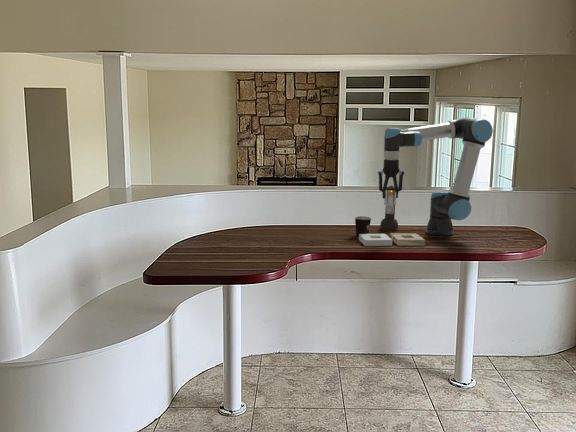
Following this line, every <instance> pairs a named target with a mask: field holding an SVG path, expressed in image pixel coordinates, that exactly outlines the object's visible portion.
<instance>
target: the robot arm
mask: <svg viewBox="0 0 576 432" xmlns="http://www.w3.org/2000/svg"><path fill="white" fill-rule="evenodd" d="M493 133H494V129H493V125H492V124H491V122H489V120H488V119H485V118H480V117H478V118H477V117H462V118H458V119H457V118H456V119H453V120H447V122H445V123H444V122H443V123H437V124H432V125H431V124H430V125H422V126H416V127H409V128H402V129H401V128H398V127H387V128H385V129H384V135H383V136H384V137H383V139H384V141H383V142H384V147H383V149H384V150H383V158H384V159H383V168H382V170H380V171H377V175H378V190H379V191H380V192H381V193H382V198H383V205H384V206H386V205H387V192H386V189H387V187H388V184H389V181H390V180H389V179H390V178H392V182H393V186H394V188H395V192H394V205H395V206H396V205H397V199H398V198H399V192H402V190H403V181H404V180H403V179H404V175H405V172H404V171H403V170H400V168H399V167H400V161H399V158H400V148H401V147H413V148H415V147H420V146H421V144H422V143H423V141H431V140H437V139H444V138H449V139H462V140H461V142H462V144H463V148H462V151H461V155H460V156H461V157H460V159H459V163H458V167H457V170H456V174H455V178H454V182H453V185H452V188H451V189H450V190H449V191H434V192H432V193H431V197H430V207H429V208H430V209H429V219H428V221H427V224H426V227H425V232H426V234H428V235H429V234H430V235H434V236H451V235H453V234H455V233H454V231H455V230H454V229H455V228H454V225H453V221H452V220H454V221H463V220H465V219H466V218H468V217H469V215H471V212H472V204H471V202H470V200H471V196H470V194H469V192H470V189H471V186H472V181H473V177H474V174H475V171H476V167H477V163H478V161H479V156H480V152H481V149H483V148H484V147H485V146H486V142H488V141H489V140H490V139H491V138H492V136H493ZM383 175H384V181H383ZM397 176H398V180H397Z"/></svg>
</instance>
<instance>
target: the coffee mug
mask: <svg viewBox="0 0 576 432" xmlns="http://www.w3.org/2000/svg"><path fill="white" fill-rule="evenodd" d="M371 221H372V218H371V217H370V216H363V215H362V216H355V217H354V224H355V225H354V226H355V236H356V237H358V238H359V234H370V228H371Z"/></svg>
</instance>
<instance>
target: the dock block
mask: <svg viewBox="0 0 576 432" xmlns="http://www.w3.org/2000/svg"><path fill="white" fill-rule="evenodd" d="M389 238H391V239H392V243H394V244H396V246H398V247H401V246H403V247H405V246H407V247H410V246H418V247H419V246H425V245H426V244H425V243H426V239H424V238H423V237H422V236H421V235H419V234H417V233H415V232H414V233H390V236H389Z"/></svg>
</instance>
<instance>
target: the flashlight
mask: <svg viewBox="0 0 576 432" xmlns="http://www.w3.org/2000/svg"><path fill="white" fill-rule="evenodd" d="M386 191H394V192H395V188H394V185H388V186H387V189H386ZM395 211H396V205H394V213H393V214H386V206H385V211H384V218H383V219H382V220H381V221H380V224H379V225H380V227H379V228H380V229H381V230H382V231H388V232H389V231H392V232H394V231H398V230H399V223H398V221H397V219H395V214H396V212H395Z"/></svg>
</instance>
